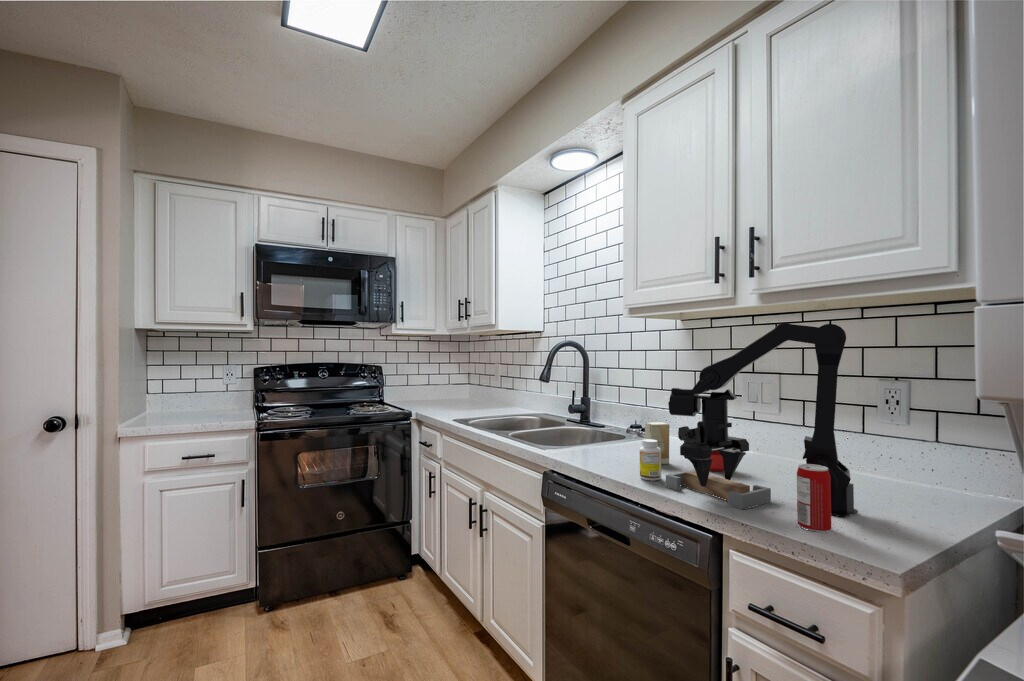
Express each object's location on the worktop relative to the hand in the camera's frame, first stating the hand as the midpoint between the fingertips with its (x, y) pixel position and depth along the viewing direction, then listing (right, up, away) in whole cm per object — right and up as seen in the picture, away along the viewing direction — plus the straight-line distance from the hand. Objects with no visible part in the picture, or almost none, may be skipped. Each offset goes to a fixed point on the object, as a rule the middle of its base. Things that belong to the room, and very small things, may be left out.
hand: (715, 483), depth 118 cm
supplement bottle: (-12, -3, +15) cm, 19 cm away
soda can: (+9, -2, -23) cm, 25 cm away
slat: (0, -3, 0) cm, 3 cm away
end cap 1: (-5, -3, +7) cm, 9 cm away
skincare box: (-4, -4, +33) cm, 34 cm away
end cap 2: (+5, -2, -7) cm, 9 cm away
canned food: (+10, -3, +26) cm, 28 cm away
